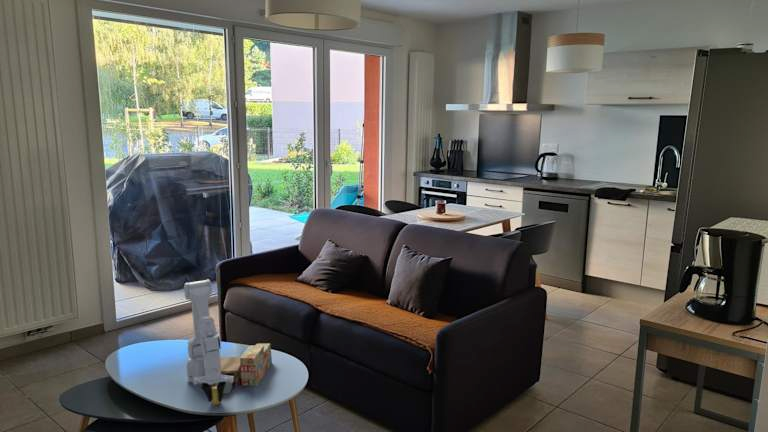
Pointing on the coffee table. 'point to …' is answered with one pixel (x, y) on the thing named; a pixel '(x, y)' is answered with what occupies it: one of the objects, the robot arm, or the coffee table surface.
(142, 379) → the coffee table surface
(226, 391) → the cube joystick
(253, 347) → the stack of blocks
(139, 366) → the coffee table surface
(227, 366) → the open wooden box
